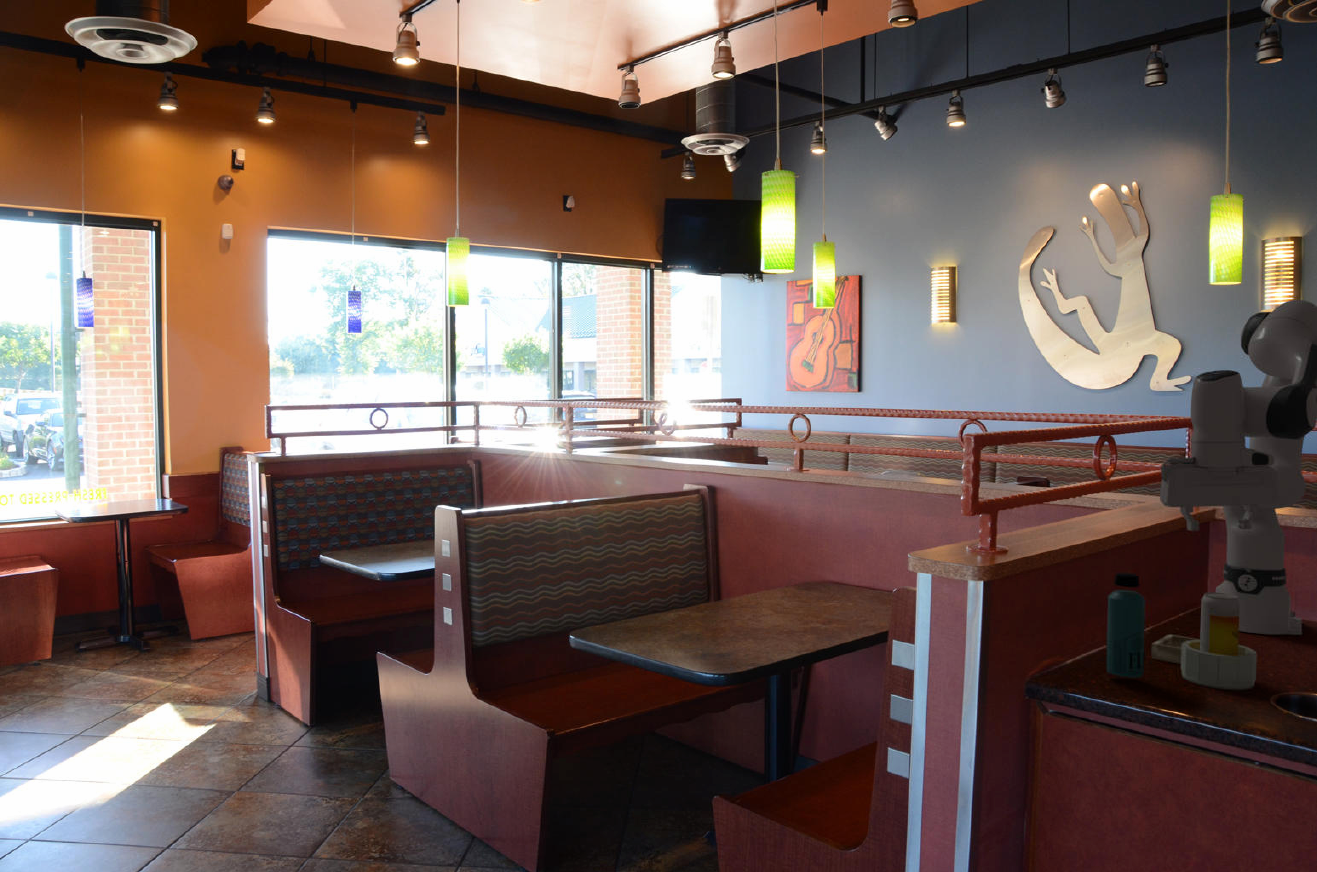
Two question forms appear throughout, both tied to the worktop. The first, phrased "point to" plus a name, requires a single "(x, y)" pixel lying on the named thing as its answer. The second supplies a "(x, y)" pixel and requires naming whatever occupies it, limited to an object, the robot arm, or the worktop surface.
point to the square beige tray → (1169, 648)
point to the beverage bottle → (1126, 629)
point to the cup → (1218, 667)
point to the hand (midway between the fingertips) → (1218, 529)
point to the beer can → (1219, 624)
